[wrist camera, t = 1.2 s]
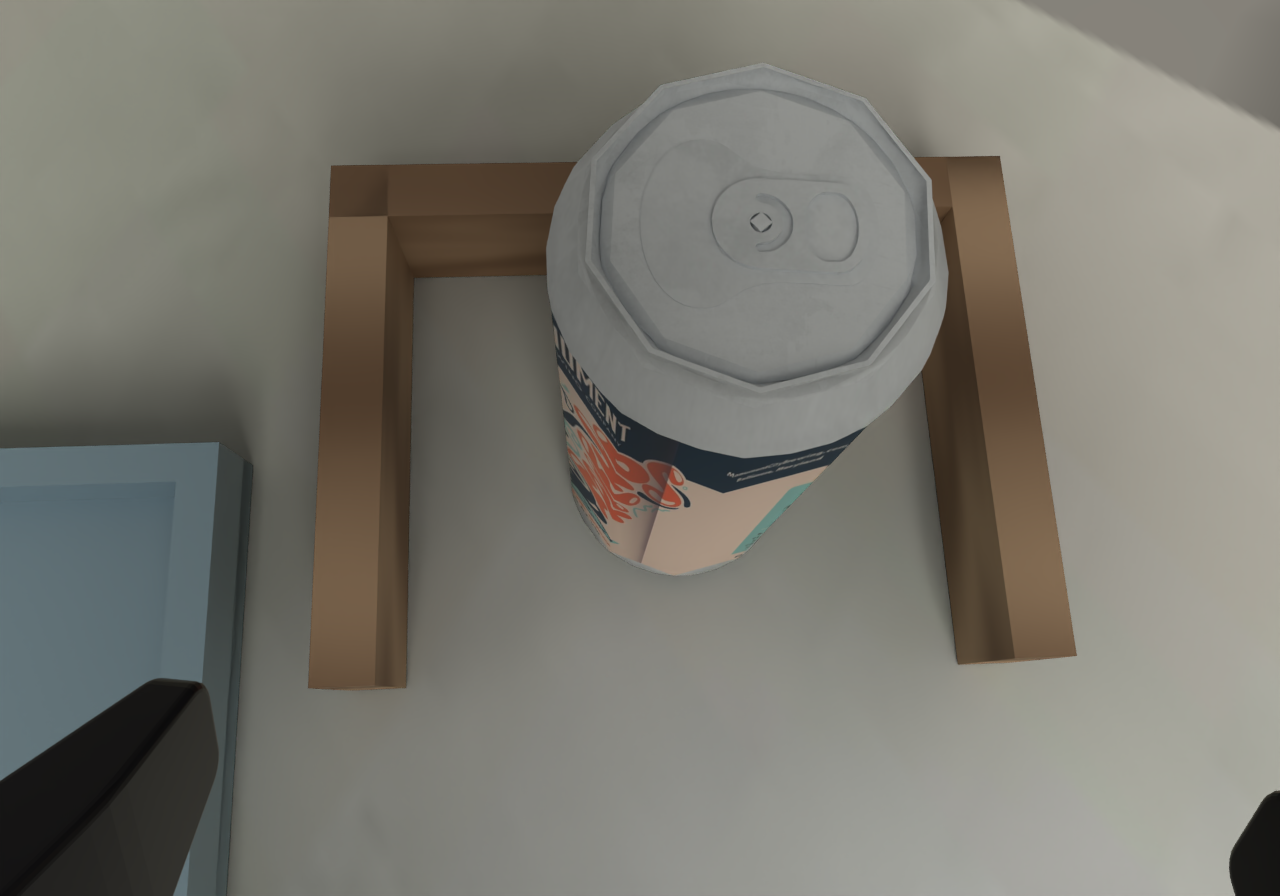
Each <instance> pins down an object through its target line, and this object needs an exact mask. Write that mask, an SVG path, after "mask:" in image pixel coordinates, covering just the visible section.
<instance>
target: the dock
mask: <svg viewBox="0 0 1280 896" xmlns="http://www.w3.org/2000/svg"><path fill="white" fill-rule="evenodd" d="M914 159H915V160H916V161H917V162H918V164H919V165H920V166H921V167H922V169H923V170H924V171H925V172H926V174H927V175H928V176H929V177H930V178H931V180H932V199H933V202H934V205H935V208H936V211H937V215H938V218H939V221H940V225H941V228H942V234H943V241H944V247H945V253H946V259H947V266H948V272H949V274H948V287H947V301H946V309H945V313H944V317H943V320H942V323H941V326H940V329H939V332H938V335H937V337H936V340H935V343H934V345H933V348H932V351H931V354H930V356H929V358H928V359H927V361H926V363H925V365H924V367H923V369H922V376H923V385H924V393H925V401H926V409H927V417H928V425H929V433H930V441H931V450H932V458H933V466H934V474H935V482H936V490H937V498H938V506H939V515H940V523H941V531H942V539H943V547H944V555H945V563H946V571H947V580H948V588H949V596H950V604H951V612H952V620H953V628H954V636H955V645H956V653H957V661H958V665H962V664H985V663H1009V662H1020V661H1030V660H1040V659H1050V658H1060V657H1070V656H1077V654H1076V648H1075V641H1074V635H1073V628H1072V622H1071V615H1070V609H1069V602H1068V596H1067V589H1066V583H1065V576H1064V570H1063V563H1062V557H1061V551H1060V544H1059V538H1058V531H1057V525H1056V518H1055V512H1054V505H1053V499H1052V492H1051V486H1050V479H1049V473H1048V466H1047V460H1046V453H1045V447H1044V440H1043V434H1042V427H1041V421H1040V414H1039V408H1038V401H1037V395H1036V388H1035V382H1034V375H1033V369H1032V362H1031V356H1030V349H1029V343H1028V336H1027V330H1026V323H1025V317H1024V310H1023V304H1022V297H1021V291H1020V284H1019V278H1018V271H1017V265H1016V258H1015V252H1014V245H1013V239H1012V232H1011V226H1010V219H1009V213H1008V206H1007V200H1006V193H1005V187H1004V180H1003V174H1002V167H1001V161H1000V156H974V157H914ZM577 163H578V162H553V163H483V164H413V165H342V166H331V182H330V204H329V227H328V250H327V272H326V295H325V318H324V341H323V363H322V386H321V409H320V431H319V454H318V477H317V500H316V522H315V545H314V568H313V591H312V613H311V636H310V659H309V681H308V688H313V689H331V690H371V689H395V688H406V664H407V611H408V559H409V506H410V453H411V400H412V348H413V295H414V278H421V277H470V276H519V275H547V259H546V246H547V241H548V236H549V231H550V226H551V221H552V216H553V211H554V207H555V205H556V202H557V200H558V198H559V196H560V194H561V192H562V189H563V187H564V185H565V183H566V181H567V179H568V177H569V175H570V173H571V171H572V169H573V167H574V166H575V165H576V164H577Z"/></svg>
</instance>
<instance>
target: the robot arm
mask: <svg viewBox="0 0 1280 896" xmlns="http://www.w3.org/2000/svg"><path fill="white" fill-rule="evenodd" d="M218 763H219V747H218V741H217V735H216V729H215V723H214V717H213V712H212V706H211V700H210V695H209V692H208V689H207V688H206V686H205V685H204V684H203V683H200V682H198V681H188V680H179V679H169V678H156V679H153V680H150V681H148V682H146V683H144V684H143V685H141V686H140V687H138V688H137V689H135V690H134V691H132V692H131V693H129V694H128V695H126V696H125V697H123V698H122V699H120V700H119V701H117V702H116V703H114V704H113V705H111V706H110V707H109V708H107V709H106V710H104V711H103V712H101V713H100V714H98V715H97V716H95V717H94V718H92V719H91V720H89V721H88V722H86V723H85V724H83V725H82V726H80V727H79V728H77V729H76V730H74V731H73V732H71V733H70V734H68V735H67V736H66V737H64V738H63V739H61V740H60V741H58V742H57V743H55V744H54V745H52V746H51V747H49V748H48V749H46V750H45V751H43V752H42V753H40V754H39V755H37V756H36V757H34V758H33V759H31V760H30V761H28V762H27V763H25V764H24V765H23V766H21V767H20V768H18V769H17V770H15V771H14V772H12V773H11V774H9V775H8V776H6V777H5V778H3V779H2V780H0V896H173V895H174V892H175V889H176V887H177V884H178V881H179V878H180V875H181V873H182V870H183V867H184V864H185V861H186V859H187V856H188V853H189V850H190V848H191V845H192V842H193V839H194V836H195V834H196V831H197V828H198V825H199V823H200V820H201V817H202V814H203V811H204V809H205V806H206V803H207V800H208V797H209V795H210V792H211V789H212V786H213V784H214V781H215V777H216V774H217V769H218ZM1229 870H1230V878H1231V883H1232V886H1233V889H1234V893H1235V896H1280V791H1274V792H1272V793H1271V794H1269V795H1267V796H1266V797H1265V798H1264V799H1263V801H1262V802H1261V804H1260V805H1259V807H1258V809H1257V810H1256V812H1255V813H1254V815H1253V817H1252V818H1251V820H1250V821H1249V823H1248V825H1247V826H1246V828H1245V829H1244V831H1243V833H1242V834H1241V836H1240V837H1239V839H1238V841H1237V842H1236V844H1235V845H1234V847H1233V849H1232V851H1231V855H1230V862H1229Z"/></svg>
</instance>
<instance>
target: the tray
mask: <svg viewBox="0 0 1280 896" xmlns="http://www.w3.org/2000/svg"><path fill="white" fill-rule="evenodd" d="M252 471H253V465H251V464H250V463H249V462H247V461H246V460H244V459H243V458H241V457H240V456H238V455H237V454H236V453H234V452H233V451H231V450H230V449H228V448H227V447H225V446H224V445H223V444H221V443H220V442H207V443H172V444H137V445H103V446H68V447H33V448H0V780H2V779H3V778H5V777H6V776H8V775H9V774H11V773H12V772H14V771H15V770H17V769H18V768H20V767H21V766H23V765H24V764H25V763H27V762H28V761H30V760H31V759H33V758H34V757H36V756H37V755H39V754H40V753H42V752H43V751H45V750H46V749H48V748H49V747H51V746H52V745H54V744H55V743H57V742H58V741H60V740H61V739H63V738H64V737H66V736H67V735H68V734H70V733H71V732H73V731H74V730H76V729H77V728H79V727H80V726H82V725H83V724H85V723H86V722H88V721H89V720H91V719H92V718H94V717H95V716H97V715H98V714H100V713H101V712H103V711H104V710H106V709H107V708H109V707H110V706H111V705H113V704H114V703H116V702H117V701H119V700H120V699H122V698H123V697H125V696H126V695H128V694H129V693H131V692H132V691H134V690H135V689H137V688H138V687H140V686H141V685H143V684H144V683H146V682H148V681H150V680H153V679H156V678H169V679H179V680H188V681H198V682H200V683H203V684H204V685H205V686H206V688H207V689H208V692H209V695H210V700H211V706H212V712H213V717H214V723H215V729H216V735H217V741H218V747H219V763H218V769H217V774H216V777H215V781H214V784H213V786H212V789H211V792H210V795H209V797H208V800H207V803H206V806H205V809H204V811H203V814H202V817H201V820H200V823H199V825H198V828H197V831H196V834H195V836H194V839H193V842H192V845H191V848H190V850H189V853H188V856H187V859H186V861H185V864H184V867H183V870H182V873H181V875H180V878H179V881H178V884H177V887H176V889H175V892H174V895H173V896H226V892H227V876H228V860H229V844H230V827H231V811H232V795H233V779H234V763H235V746H236V730H237V714H238V698H239V682H240V665H241V649H242V633H243V617H244V601H245V584H246V568H247V552H248V536H249V520H250V503H251V487H252Z"/></svg>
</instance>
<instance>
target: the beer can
mask: <svg viewBox="0 0 1280 896" xmlns="http://www.w3.org/2000/svg"><path fill="white" fill-rule="evenodd" d="M546 259H547V289H548V295H549V300H550V306H551V312H552V320H553V329H554V337H555V346H556V354H557V363H558V372H559V380H560V389H561V397H562V406H563V415H564V423H565V432H566V440H567V449H568V457H569V466H570V475H571V483H572V493H573V497H574V500H575V503H576V505H577V507H578V510H579V512H580V514H581V517H582V519H583V520H584V522H585V523H586V524H587V526H588V527H589V529H590V530H591V531H592V533H593V534H594V535H595V537H596V538H597V539H598V541H599V542H600V543H601V544H602V545H603V546H604V547H605V548H607V549H608V550H609V551H610V552H611V553H612V554H614V555H616V556H617V557H619V558H621V559H622V560H624V561H626V562H627V563H629V564H631V565H632V566H635V567H638V568H641V569H644V570H647V571H650V572H653V573H657V574H665V575H672V576H679V575H695V574H699V573H703V572H707V571H711V570H715V569H717V568H720V567H722V566H724V565H726V564H728V563H730V562H732V561H734V560H736V559H738V558H740V557H741V556H742V555H743V554H744V553H746V552H747V551H748V550H749V549H750V548H751V547H752V546H753V545H754V544H755V543H756V541H757V540H758V539H759V538H760V537H761V536H762V534H763V533H764V532H765V531H766V530H767V529H768V528H769V527H770V526H771V524H772V523H773V522H774V521H775V520H776V519H777V518H778V517H779V516H780V515H781V514H782V513H783V512H784V511H785V510H786V509H787V508H788V507H789V506H790V505H791V504H792V503H793V502H794V501H795V500H796V499H797V498H798V497H799V496H800V495H801V494H802V493H803V492H804V491H805V489H806V488H807V487H808V486H809V485H810V484H811V483H812V482H813V481H814V480H815V479H816V478H817V477H818V476H819V475H820V474H821V473H822V472H823V471H824V470H825V469H826V468H827V467H828V466H829V465H830V464H831V463H832V462H833V461H834V460H835V459H836V458H837V457H838V456H839V454H840V453H841V452H842V451H843V450H844V449H845V448H846V447H847V446H848V445H849V444H850V443H851V442H852V441H853V440H854V439H855V438H856V437H857V436H858V435H859V434H860V433H861V432H862V431H863V430H864V429H865V428H866V427H867V426H868V425H869V424H870V423H871V422H873V421H874V420H875V419H876V418H878V417H879V416H880V415H881V414H883V413H884V412H885V411H886V410H887V409H889V408H890V407H891V406H892V405H893V404H894V402H895V401H896V400H897V399H898V398H899V396H900V395H901V394H902V393H903V392H904V391H905V389H906V388H907V387H908V386H909V385H910V383H911V382H912V381H913V380H914V379H915V378H916V376H917V375H918V374H919V373H920V372H921V370H922V369H923V367H924V365H925V363H926V361H927V359H928V358H929V356H930V354H931V351H932V348H933V345H934V343H935V340H936V337H937V335H938V332H939V329H940V326H941V323H942V320H943V317H944V313H945V309H946V301H947V287H948V274H949V272H948V266H947V259H946V253H945V247H944V241H943V234H942V228H941V225H940V221H939V218H938V215H937V211H936V208H935V205H934V202H933V199H932V180H931V178H930V177H929V176H928V175H927V174H926V172H925V171H924V170H923V169H922V167H921V166H920V165H919V164H918V162H917V161H916V160H915V159H914V157H913V156H912V155H911V154H910V152H909V151H908V150H907V149H906V147H905V146H904V145H903V144H902V142H901V141H900V140H899V139H898V137H897V136H896V135H895V134H894V132H893V131H892V130H891V129H890V127H889V126H888V125H887V124H886V123H885V121H884V120H883V119H882V118H881V116H880V115H879V114H878V113H877V111H876V110H875V109H874V108H873V106H872V105H871V104H870V103H869V101H868V100H867V99H866V98H865V97H862V96H859V95H856V94H853V93H850V92H847V91H845V90H842V89H839V88H836V87H833V86H830V85H827V84H824V83H822V82H819V81H816V80H813V79H810V78H807V77H804V76H801V75H799V74H796V73H793V72H790V71H787V70H784V69H781V68H778V67H776V66H773V65H770V64H767V63H764V62H763V63H759V64H754V65H749V66H745V67H740V68H736V69H731V70H726V71H722V72H717V73H712V74H708V75H703V76H699V77H694V78H689V79H685V80H680V81H675V82H671V83H666V84H662V85H660V86H659V87H658V88H657V89H656V90H655V91H654V92H653V93H652V94H651V95H650V97H649V98H648V99H647V100H646V101H645V102H644V103H643V104H641V105H640V106H638V107H637V108H635V109H634V110H633V111H631V112H630V113H628V114H627V115H625V116H624V117H622V118H621V119H620V120H618V121H617V122H615V123H614V124H612V125H611V126H610V128H609V129H608V130H607V131H606V132H605V133H604V134H603V135H602V136H601V137H600V138H599V139H598V140H597V141H596V143H595V144H594V145H593V146H592V147H591V148H590V149H589V150H588V151H587V152H586V153H585V154H584V155H583V156H582V158H581V159H580V160H579V161H578V163H577V164H576V165H575V166H574V167H573V169H572V171H571V173H570V175H569V177H568V179H567V181H566V183H565V185H564V187H563V189H562V192H561V194H560V196H559V198H558V200H557V202H556V205H555V207H554V211H553V216H552V221H551V226H550V231H549V236H548V241H547V246H546Z"/></svg>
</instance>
